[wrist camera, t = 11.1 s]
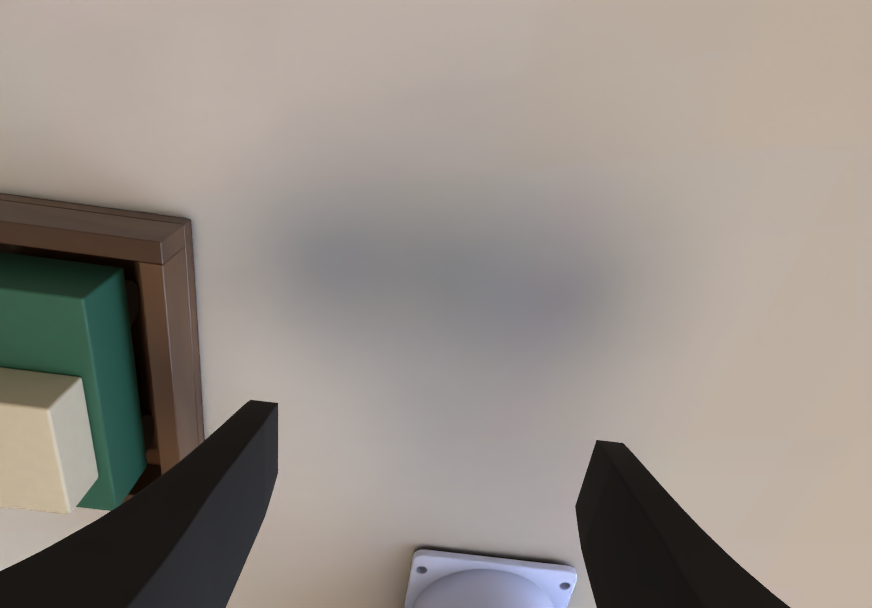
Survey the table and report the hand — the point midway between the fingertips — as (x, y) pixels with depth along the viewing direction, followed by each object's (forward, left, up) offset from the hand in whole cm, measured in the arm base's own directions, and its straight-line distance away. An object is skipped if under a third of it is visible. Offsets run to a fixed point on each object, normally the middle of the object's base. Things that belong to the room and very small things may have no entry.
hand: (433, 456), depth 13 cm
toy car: (-5, +13, -9) cm, 17 cm away
